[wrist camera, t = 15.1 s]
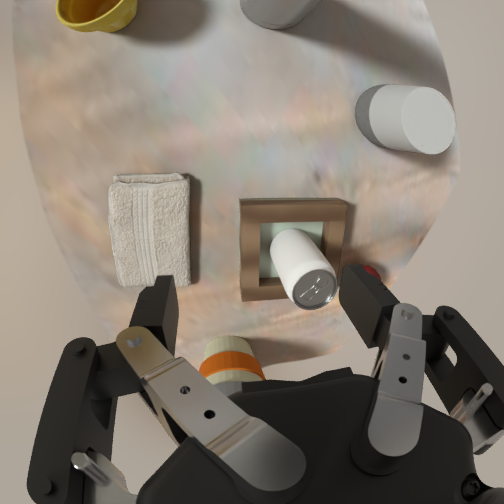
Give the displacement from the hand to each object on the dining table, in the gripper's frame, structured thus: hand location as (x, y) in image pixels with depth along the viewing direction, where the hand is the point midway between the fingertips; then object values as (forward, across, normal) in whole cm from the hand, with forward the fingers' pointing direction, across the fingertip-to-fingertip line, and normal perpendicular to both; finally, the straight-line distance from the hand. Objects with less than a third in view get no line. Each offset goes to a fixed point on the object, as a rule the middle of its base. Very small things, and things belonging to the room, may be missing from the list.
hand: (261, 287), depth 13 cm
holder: (+28, -9, +11) cm, 31 cm away
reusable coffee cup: (+28, +1, +33) cm, 43 cm away
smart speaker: (+28, -22, -10) cm, 37 cm away
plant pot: (+28, +16, -26) cm, 42 cm away
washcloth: (+29, +11, +8) cm, 32 cm away
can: (+27, -9, +11) cm, 31 cm away
